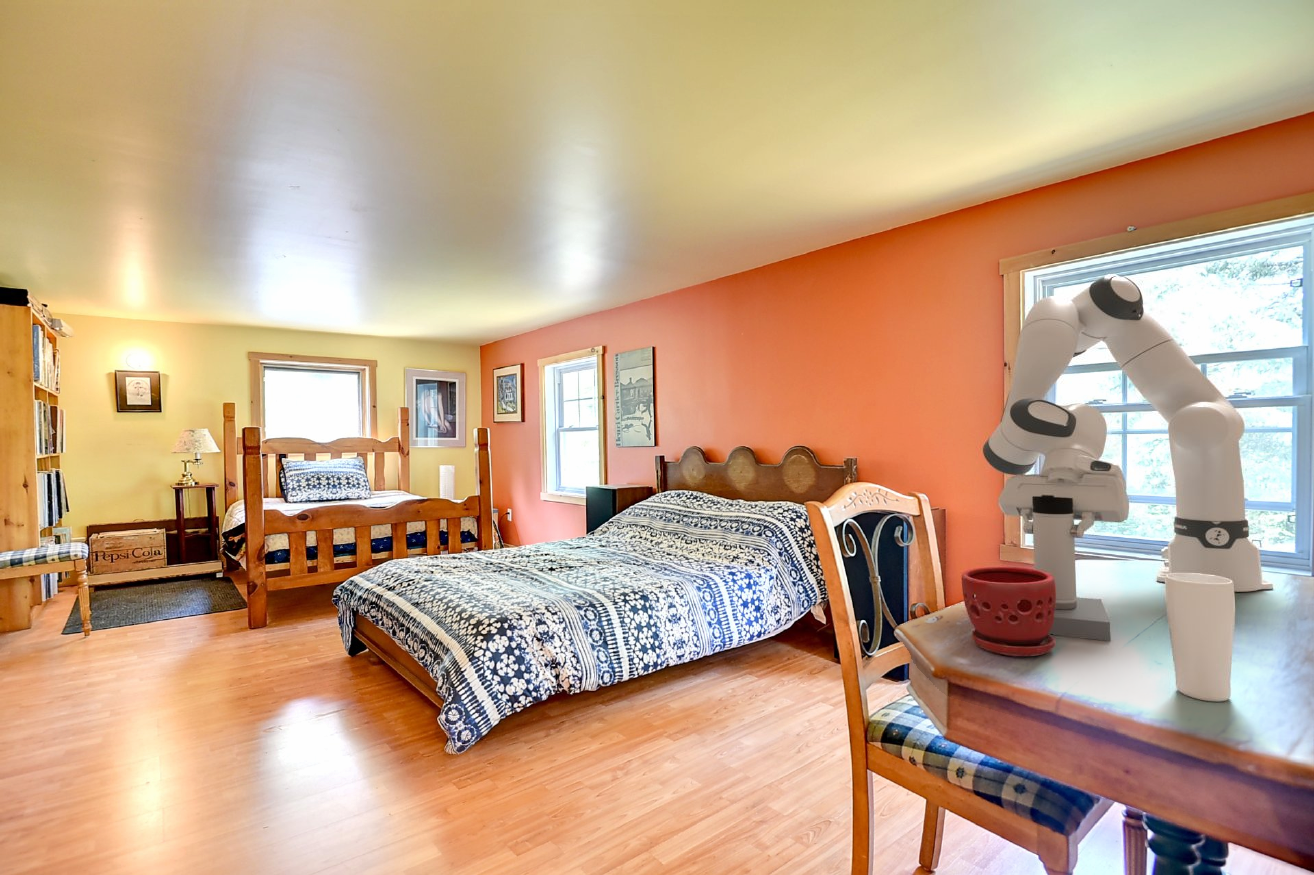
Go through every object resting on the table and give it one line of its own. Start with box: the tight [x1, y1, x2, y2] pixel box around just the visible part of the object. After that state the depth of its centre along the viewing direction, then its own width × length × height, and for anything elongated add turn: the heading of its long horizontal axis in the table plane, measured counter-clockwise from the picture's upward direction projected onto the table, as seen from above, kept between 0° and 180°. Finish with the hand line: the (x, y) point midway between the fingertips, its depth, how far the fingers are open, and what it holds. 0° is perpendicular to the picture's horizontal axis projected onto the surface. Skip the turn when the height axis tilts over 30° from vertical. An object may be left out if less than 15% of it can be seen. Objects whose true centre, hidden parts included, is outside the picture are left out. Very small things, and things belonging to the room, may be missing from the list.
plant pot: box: [960, 566, 1056, 658], centre depth 101 cm, size 13×13×12 cm
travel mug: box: [1032, 495, 1077, 610], centre depth 113 cm, size 6×7×20 cm
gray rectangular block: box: [1018, 596, 1112, 642], centre depth 113 cm, size 16×14×3 cm
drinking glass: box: [1164, 573, 1236, 703], centre depth 81 cm, size 7×7×15 cm
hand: (1051, 533), depth 113 cm, fingers closed on travel mug, 6 cm apart
